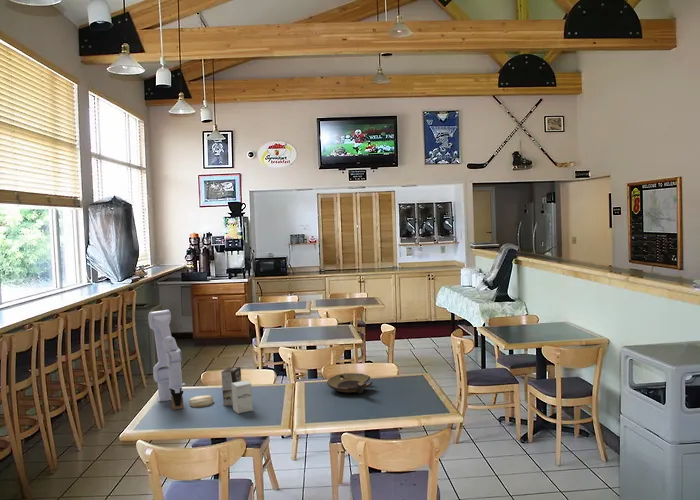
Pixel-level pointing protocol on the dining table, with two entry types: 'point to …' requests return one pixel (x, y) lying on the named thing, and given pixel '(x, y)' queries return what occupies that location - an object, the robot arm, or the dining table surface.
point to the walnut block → (174, 403)
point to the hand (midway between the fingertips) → (177, 404)
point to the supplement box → (242, 396)
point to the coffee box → (229, 383)
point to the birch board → (201, 401)
